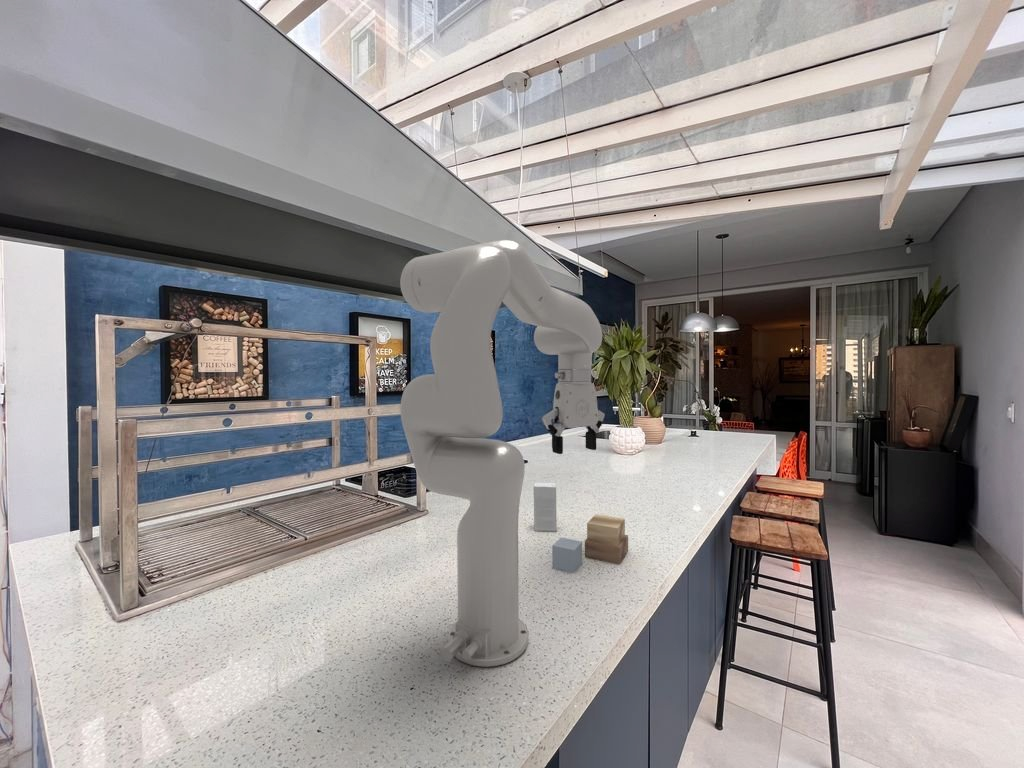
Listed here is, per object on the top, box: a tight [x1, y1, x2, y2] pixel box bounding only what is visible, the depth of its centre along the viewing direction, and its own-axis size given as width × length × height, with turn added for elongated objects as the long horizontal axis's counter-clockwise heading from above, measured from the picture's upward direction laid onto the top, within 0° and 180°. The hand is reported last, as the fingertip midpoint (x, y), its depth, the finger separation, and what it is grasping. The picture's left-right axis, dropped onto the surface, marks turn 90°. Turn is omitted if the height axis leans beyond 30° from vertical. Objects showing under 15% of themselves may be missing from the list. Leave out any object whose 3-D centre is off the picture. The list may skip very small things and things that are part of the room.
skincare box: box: [533, 482, 558, 532], centre depth 114 cm, size 6×4×12 cm
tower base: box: [584, 534, 629, 566], centre depth 98 cm, size 8×8×4 cm
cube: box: [551, 537, 583, 574], centre depth 92 cm, size 5×5×5 cm
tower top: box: [586, 513, 626, 546], centre depth 98 cm, size 7×7×4 cm
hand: (574, 451), depth 98 cm, fingers open, 9 cm apart
